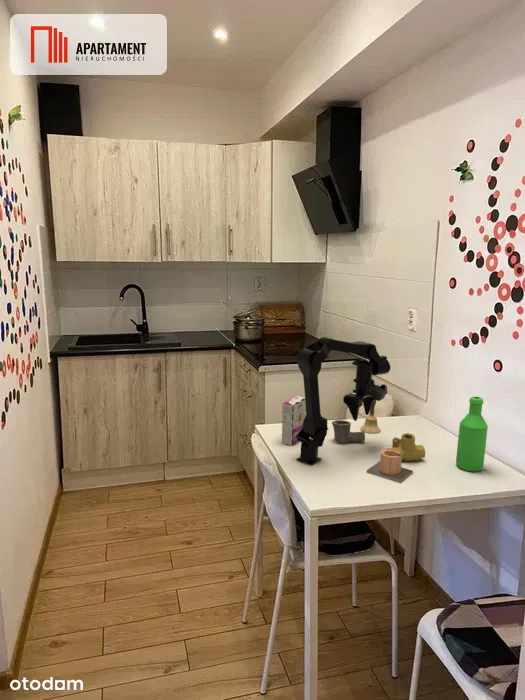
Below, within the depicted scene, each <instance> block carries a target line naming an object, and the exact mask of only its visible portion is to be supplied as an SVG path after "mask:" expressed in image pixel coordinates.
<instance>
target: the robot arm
mask: <svg viewBox="0 0 525 700" xmlns="http://www.w3.org/2000/svg"><path fill="white" fill-rule="evenodd" d="M331 351H337V352H343V353H346V354H351V355H353V356H356V358H355V360H353V362H351V364H352V365H353V366H356V370H355V371H356V372H355V378H353V381H352V383H353V382H354V383H355V385H354V386H355V387H354V389H352V393H351V392H350V393H347V394H345V395H344V396H343V397H342V398H343V399H342V400H343V404H344V405H346V406H347V409H348V410H349V412H350V415H351V417H352V420H353V421H355V422H356V421H358V416H359V412H360V408H361V407H362V406H363V408H364V414H365V415H367V416H369V415H370V409H371V407H372V404H373V402H374V400H376V402H381V401H382V400H384V399H385V397H386V395H387V394H388V385H386V384H384V383H383V384H381V385H379V384H376V383H375V379H373V376H378V375H379V376H380V375H386V374H389V373H390V371H391V364H390V362H389V360H388V356H386V355H380V354H379V351H378V350H377V347H376V344H373V343H369V342H366V341H354V342H352V341H351V342H350V341H346V340H345V341H344V340H339V339H333V338H330V337H327V336H321V337H320V338H319V339H317V341H315V342H312V343H310V344H308V345H307V346H305V347H304V348H302V349H301V350H298V353H297V354H296V361H297V366H298V367H297V368H298V369H299V371H300V373H301V375H302V379H303V388H304V389H303V390H304V397H305V403H306V417H305V419H304V421H303V428H302V429H301V430H300V431H299V433H298V434H297V435H296V438H297V441H299V442H300V443H301V444H300V456H299V457H297V458H296V461H298V462H301V463H304V464H307V465H310V466H311V465H315V464H316V463H319V462H320V461H322V457H319V448H320V447H321V448H322V447H323V445H324V441H325V439H326V436H327V435H328V430H329V427H328V419H327V418H326V417H324V416H322V414H321V413H322V412H321V404H320V403H321V401H320V391H319V390H320V388H319V387H320V385H319V374H320V372H321V370H322V363H323V362H325V360H327V358H328V357H329V353H331ZM361 358H362V359H361Z"/></svg>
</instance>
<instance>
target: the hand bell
mask: <svg viewBox="0 0 525 700" xmlns="http://www.w3.org/2000/svg"><path fill="white" fill-rule="evenodd" d="M376 404H377V400H374V402H373V404H372V407H371V409H370V412H369V415H367V416H365V420H364V423H363V425H362V426H361V427H360V428H359V429H360V432H364V433H365V434H380V433H381V428H380V427H379V426H378V418H377V417H376V416H375V406H376Z"/></svg>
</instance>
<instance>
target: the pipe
mask: <svg viewBox="0 0 525 700" xmlns="http://www.w3.org/2000/svg"><path fill="white" fill-rule="evenodd" d="M331 424H332V427H333V434H334V441H335V442H336V443H338V444H339V443H340V444H346V443H353V442H354V443H357V442H359V443H360V442H361V443H362V442H365V440H366V432H363V431H351V426H352V425H351V424H352V423H351V422H350V421H349V420H344V419H343V420H342V419H336V420H333V421H331Z"/></svg>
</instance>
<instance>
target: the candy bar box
mask: <svg viewBox="0 0 525 700" xmlns="http://www.w3.org/2000/svg"><path fill="white" fill-rule="evenodd" d="M281 410H282V412H281V413H282V414H281V415H282V417H281V419H282V420H281V422H282V423H281V425H282V426H281V427H282V428H281V443H282V444H283V445H288V446H290V447H291V446H292V447H293V446H294V445H296V444H298V443H299V442H300V441H297V438H296V435H297V434H298V433H299V431H300V430H301V429H302V428H303V421H304V419H305V417H306V403H305V396H301V395H295V396H293V397H290V398H288V399H287V400H285V401H283V402H282V409H281Z"/></svg>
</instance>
